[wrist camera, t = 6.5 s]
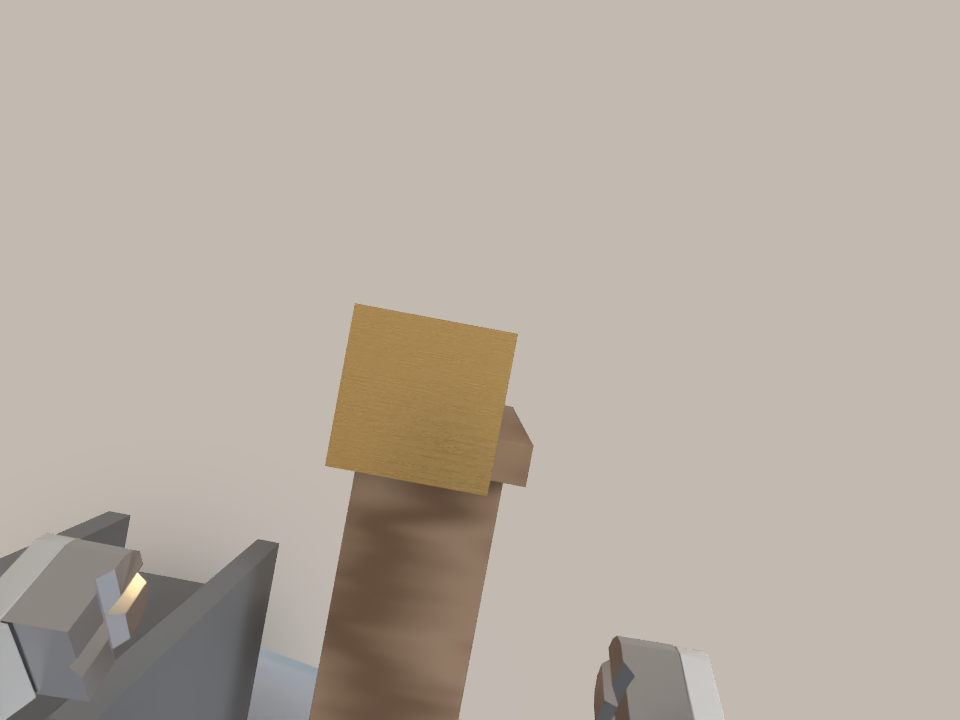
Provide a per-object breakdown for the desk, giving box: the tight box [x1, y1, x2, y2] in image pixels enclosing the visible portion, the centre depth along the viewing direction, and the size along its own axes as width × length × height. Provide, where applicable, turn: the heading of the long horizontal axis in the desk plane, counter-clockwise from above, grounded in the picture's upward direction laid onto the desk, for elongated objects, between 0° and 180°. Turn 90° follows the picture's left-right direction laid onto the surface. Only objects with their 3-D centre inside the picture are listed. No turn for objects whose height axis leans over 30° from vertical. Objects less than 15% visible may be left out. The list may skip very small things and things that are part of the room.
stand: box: [309, 405, 533, 720], centre depth 30 cm, size 7×15×26 cm, turn 179°
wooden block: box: [325, 304, 518, 496], centre depth 24 cm, size 22×4×4 cm, turn 179°
